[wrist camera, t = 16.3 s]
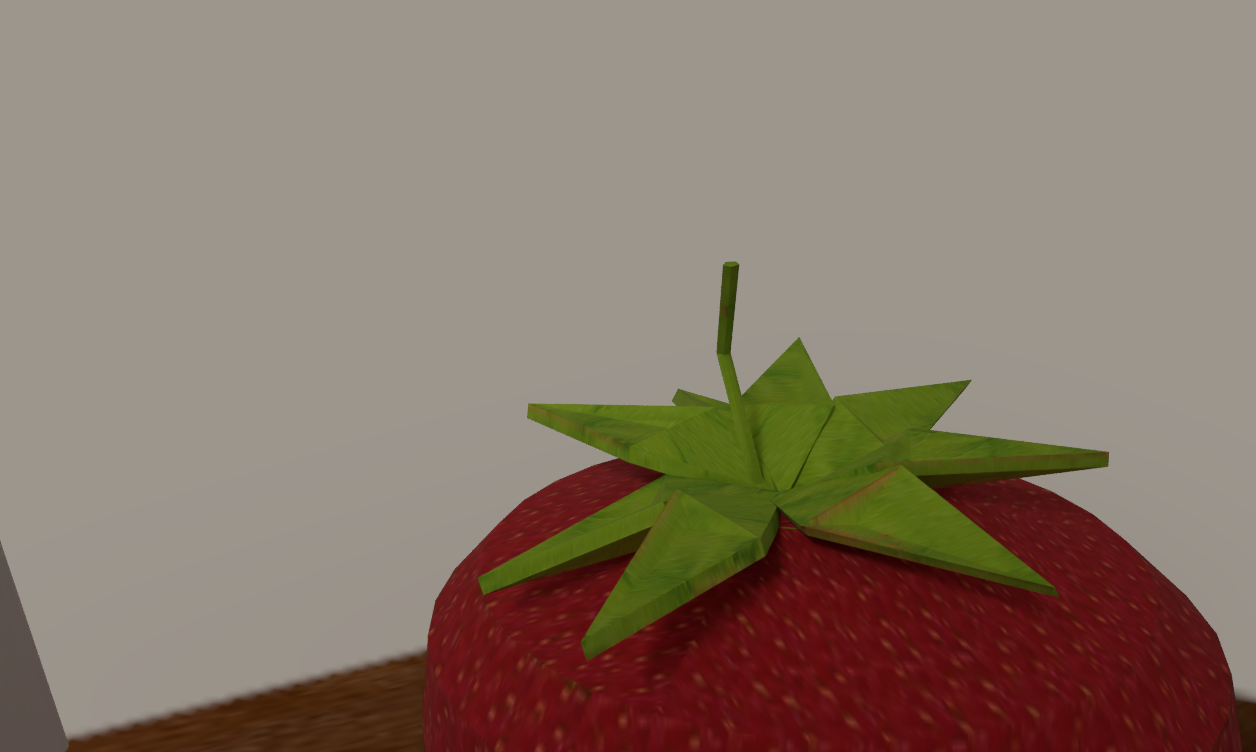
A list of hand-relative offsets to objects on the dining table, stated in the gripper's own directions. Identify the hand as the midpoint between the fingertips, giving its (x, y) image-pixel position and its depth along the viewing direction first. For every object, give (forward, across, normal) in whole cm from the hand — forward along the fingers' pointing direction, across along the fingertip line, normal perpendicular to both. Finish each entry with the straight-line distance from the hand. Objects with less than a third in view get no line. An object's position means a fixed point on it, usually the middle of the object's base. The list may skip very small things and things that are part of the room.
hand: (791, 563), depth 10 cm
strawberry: (0, 0, -8) cm, 8 cm away
